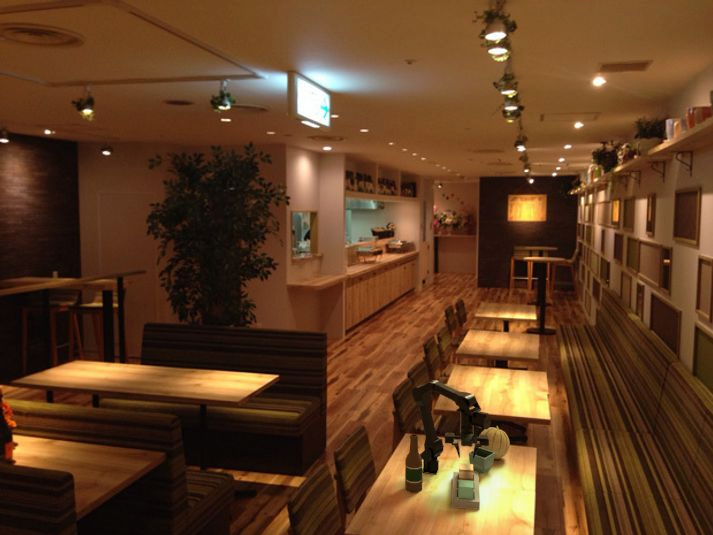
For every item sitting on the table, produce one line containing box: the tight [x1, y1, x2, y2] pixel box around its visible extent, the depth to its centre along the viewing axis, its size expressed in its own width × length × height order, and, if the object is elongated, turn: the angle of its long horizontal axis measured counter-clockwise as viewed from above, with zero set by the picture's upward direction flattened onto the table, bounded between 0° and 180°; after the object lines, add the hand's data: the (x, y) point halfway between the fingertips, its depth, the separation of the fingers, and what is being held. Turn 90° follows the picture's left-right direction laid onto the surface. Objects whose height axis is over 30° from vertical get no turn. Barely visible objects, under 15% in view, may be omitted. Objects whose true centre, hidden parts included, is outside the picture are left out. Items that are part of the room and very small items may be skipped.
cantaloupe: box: [479, 425, 511, 460], centre depth 301 cm, size 15×15×15 cm
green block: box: [457, 480, 474, 500], centre depth 258 cm, size 6×6×5 cm
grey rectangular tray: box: [451, 471, 481, 510], centre depth 267 cm, size 11×26×3 cm, turn 170°
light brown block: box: [458, 463, 474, 473], centre depth 274 cm, size 6×6×5 cm
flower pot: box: [468, 448, 495, 475], centre depth 287 cm, size 9×9×9 cm
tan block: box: [458, 470, 474, 482], centre depth 266 cm, size 6×6×5 cm
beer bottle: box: [404, 433, 423, 494], centre depth 269 cm, size 8×8×24 cm
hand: (466, 457), depth 273 cm, fingers open, 6 cm apart
